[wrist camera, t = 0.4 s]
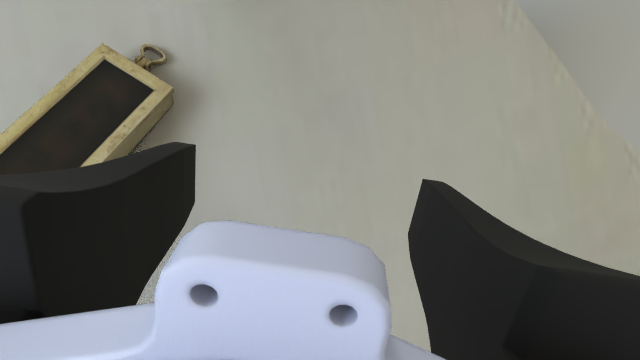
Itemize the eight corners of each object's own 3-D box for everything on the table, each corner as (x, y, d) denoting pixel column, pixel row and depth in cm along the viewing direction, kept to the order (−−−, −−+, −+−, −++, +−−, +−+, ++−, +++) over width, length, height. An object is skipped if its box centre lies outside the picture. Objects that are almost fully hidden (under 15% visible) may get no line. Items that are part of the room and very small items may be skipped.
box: (-46, 225, 35) (-84, 206, 31) (131, 48, 45) (122, 15, 41) (40, 275, 35) (16, 264, 31) (198, 89, 45) (197, 60, 41)
